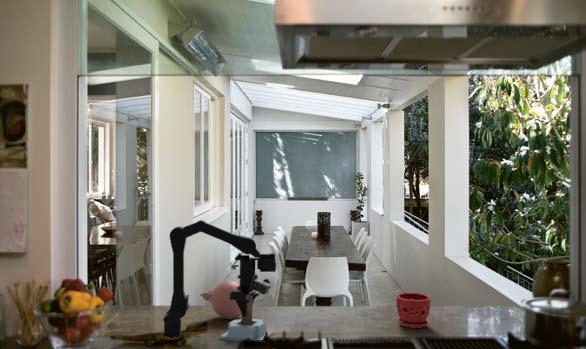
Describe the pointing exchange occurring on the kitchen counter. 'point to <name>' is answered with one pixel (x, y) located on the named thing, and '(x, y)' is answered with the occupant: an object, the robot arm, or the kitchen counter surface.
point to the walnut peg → (248, 313)
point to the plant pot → (413, 309)
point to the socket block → (245, 330)
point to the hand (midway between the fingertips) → (246, 315)
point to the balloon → (223, 300)
